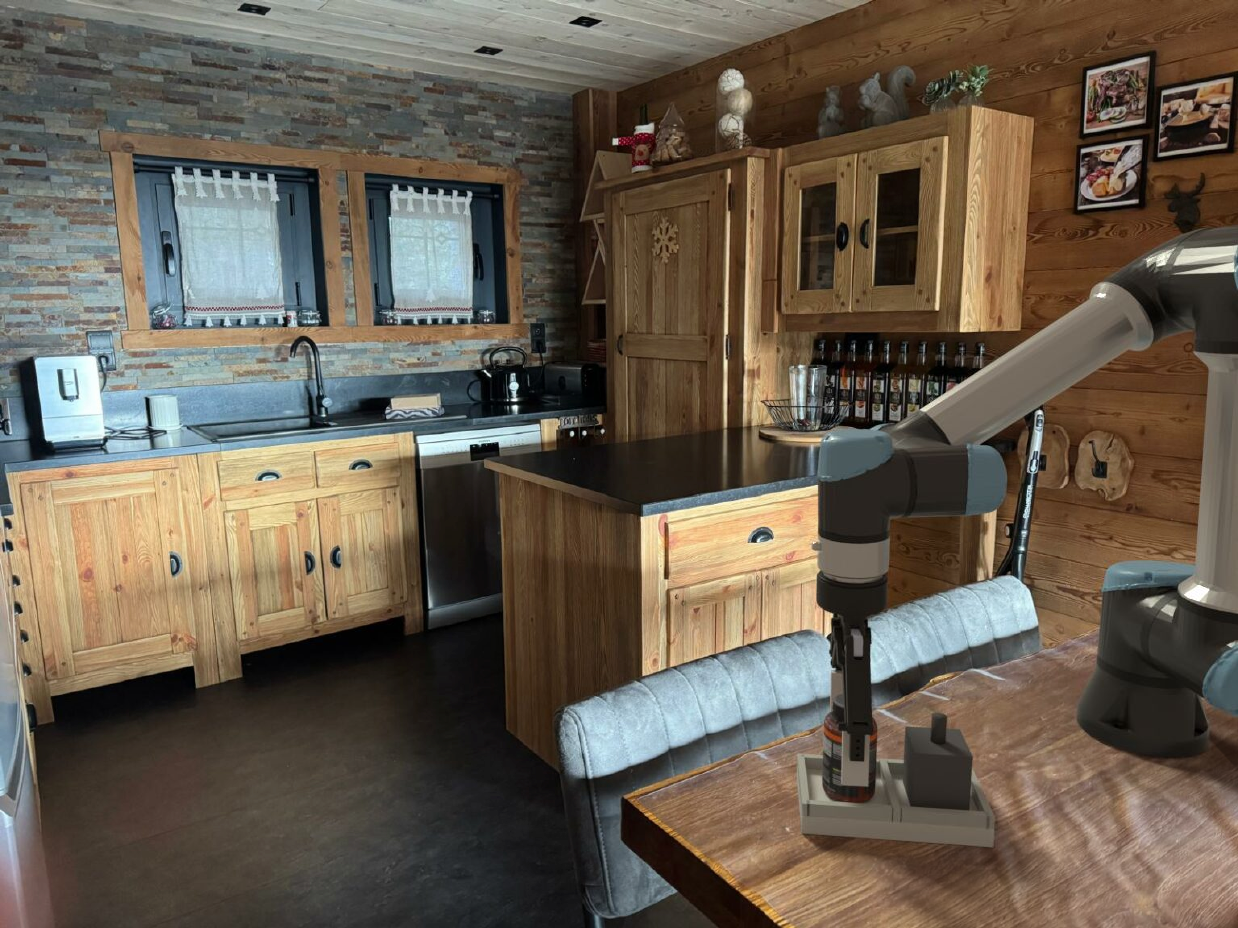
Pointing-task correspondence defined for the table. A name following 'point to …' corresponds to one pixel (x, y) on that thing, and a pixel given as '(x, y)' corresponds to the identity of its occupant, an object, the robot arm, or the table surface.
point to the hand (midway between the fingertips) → (847, 751)
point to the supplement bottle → (834, 759)
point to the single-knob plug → (937, 766)
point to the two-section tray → (905, 814)
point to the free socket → (830, 807)
